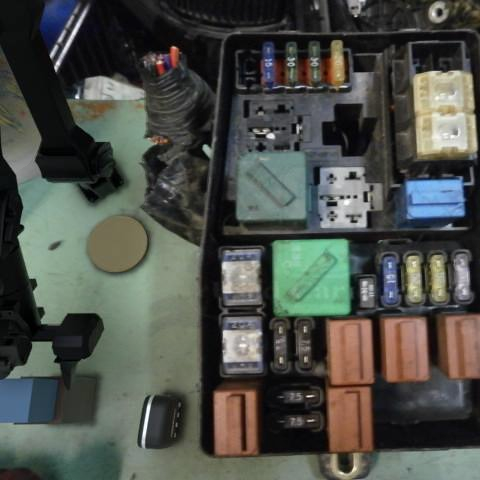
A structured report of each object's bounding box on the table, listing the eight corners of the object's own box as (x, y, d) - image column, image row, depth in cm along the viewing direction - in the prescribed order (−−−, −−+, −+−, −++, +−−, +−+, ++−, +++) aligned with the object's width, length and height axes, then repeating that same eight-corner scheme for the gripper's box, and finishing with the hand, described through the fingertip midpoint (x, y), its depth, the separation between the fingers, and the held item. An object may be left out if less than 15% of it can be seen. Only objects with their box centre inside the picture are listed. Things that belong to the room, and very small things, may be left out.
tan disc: (79, 238, 88) (76, 236, 86) (130, 207, 89) (128, 204, 88) (108, 285, 86) (105, 283, 84) (159, 252, 87) (158, 250, 86)
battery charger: (182, 445, 79) (164, 452, 68) (156, 443, 79) (134, 450, 68) (189, 396, 81) (173, 395, 70) (164, 393, 81) (143, 393, 70)
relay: (21, 420, 69) (-8, 423, 63) (27, 380, 71) (-2, 378, 64) (53, 420, 69) (27, 422, 63) (58, 380, 71) (33, 378, 64)
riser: (50, 421, 80) (13, 424, 69) (56, 379, 81) (20, 376, 71) (92, 420, 80) (60, 424, 69) (96, 378, 82) (66, 376, 71)
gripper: (-136, 329, 53) (-83, 440, 61) (57, 328, 54) (85, 438, 61) (-68, 270, 63) (-30, 372, 70) (94, 270, 64) (115, 371, 71)
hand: (32, 388), depth 68 cm, fingers open, 9 cm apart
